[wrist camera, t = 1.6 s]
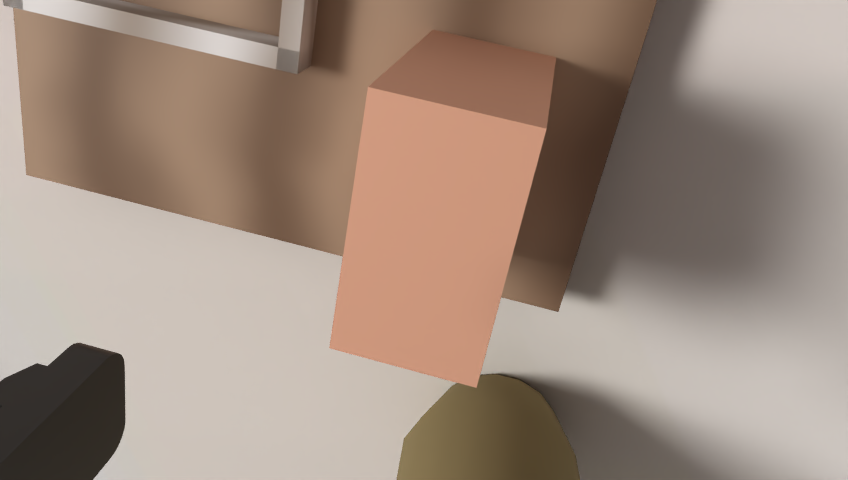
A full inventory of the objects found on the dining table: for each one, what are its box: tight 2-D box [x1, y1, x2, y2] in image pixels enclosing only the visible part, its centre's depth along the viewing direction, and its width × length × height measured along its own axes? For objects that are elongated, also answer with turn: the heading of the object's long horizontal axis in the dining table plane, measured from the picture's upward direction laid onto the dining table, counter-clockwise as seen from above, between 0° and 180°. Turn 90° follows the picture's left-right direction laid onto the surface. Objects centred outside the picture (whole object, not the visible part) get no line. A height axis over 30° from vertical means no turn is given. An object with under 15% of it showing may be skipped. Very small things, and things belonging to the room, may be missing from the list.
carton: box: [330, 30, 556, 388], centre depth 23 cm, size 5×8×9 cm, turn 170°
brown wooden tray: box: [3, 0, 657, 312], centre depth 27 cm, size 24×16×4 cm
